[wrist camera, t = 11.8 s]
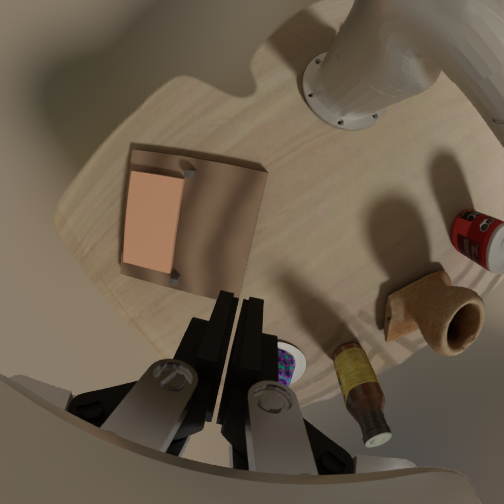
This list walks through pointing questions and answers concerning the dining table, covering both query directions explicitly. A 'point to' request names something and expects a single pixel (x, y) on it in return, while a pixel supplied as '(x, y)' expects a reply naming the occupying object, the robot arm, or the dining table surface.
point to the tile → (152, 220)
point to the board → (204, 223)
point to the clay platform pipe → (435, 313)
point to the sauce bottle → (362, 393)
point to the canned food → (480, 239)
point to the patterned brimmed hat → (290, 364)
